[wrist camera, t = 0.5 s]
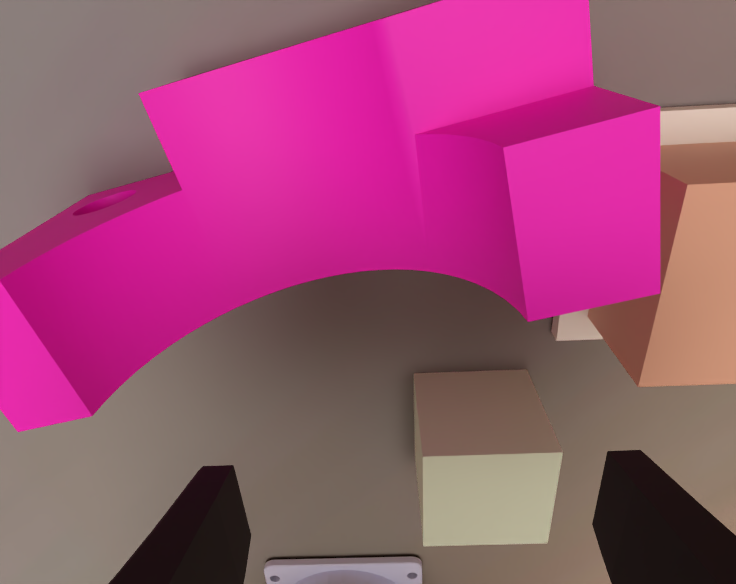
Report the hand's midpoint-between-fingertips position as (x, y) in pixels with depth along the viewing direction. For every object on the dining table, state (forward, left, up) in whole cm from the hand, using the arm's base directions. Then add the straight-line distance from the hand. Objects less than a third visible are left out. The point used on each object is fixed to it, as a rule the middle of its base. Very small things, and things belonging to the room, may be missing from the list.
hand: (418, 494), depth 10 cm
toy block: (+5, +3, -10) cm, 11 cm away
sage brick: (-6, -3, -10) cm, 12 cm away
